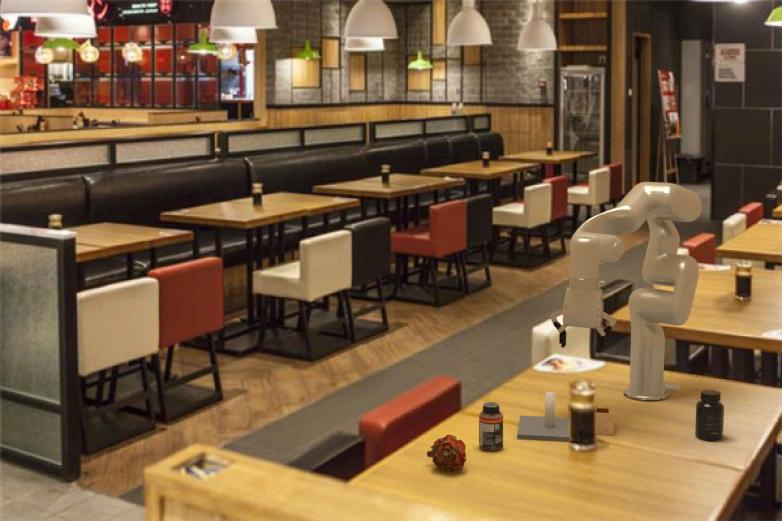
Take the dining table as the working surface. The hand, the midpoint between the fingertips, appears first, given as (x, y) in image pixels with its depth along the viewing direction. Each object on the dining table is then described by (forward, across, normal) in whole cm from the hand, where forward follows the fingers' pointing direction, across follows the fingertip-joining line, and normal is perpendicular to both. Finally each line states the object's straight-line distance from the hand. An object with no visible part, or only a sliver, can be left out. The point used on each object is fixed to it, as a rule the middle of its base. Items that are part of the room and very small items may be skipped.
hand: (581, 348), depth 265 cm
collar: (+21, -6, +4) cm, 22 cm away
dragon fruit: (+22, +23, +43) cm, 53 cm away
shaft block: (+21, +6, +8) cm, 23 cm away
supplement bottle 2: (+21, -33, 0) cm, 39 cm away
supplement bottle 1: (+21, +17, +27) cm, 38 cm away
